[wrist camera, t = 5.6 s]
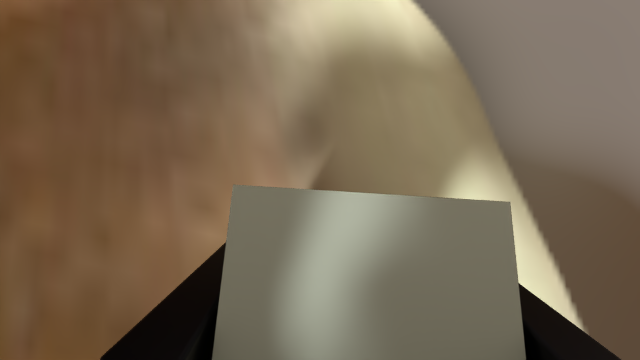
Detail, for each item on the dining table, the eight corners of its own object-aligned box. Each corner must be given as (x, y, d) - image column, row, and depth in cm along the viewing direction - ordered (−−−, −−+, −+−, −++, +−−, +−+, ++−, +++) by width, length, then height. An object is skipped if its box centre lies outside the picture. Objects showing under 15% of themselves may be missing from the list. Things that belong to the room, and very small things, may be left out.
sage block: (385, 363, 13) (544, 545, 5) (262, 358, 13) (189, 540, 4) (385, 239, 15) (510, 201, 6) (273, 233, 14) (233, 184, 6)
